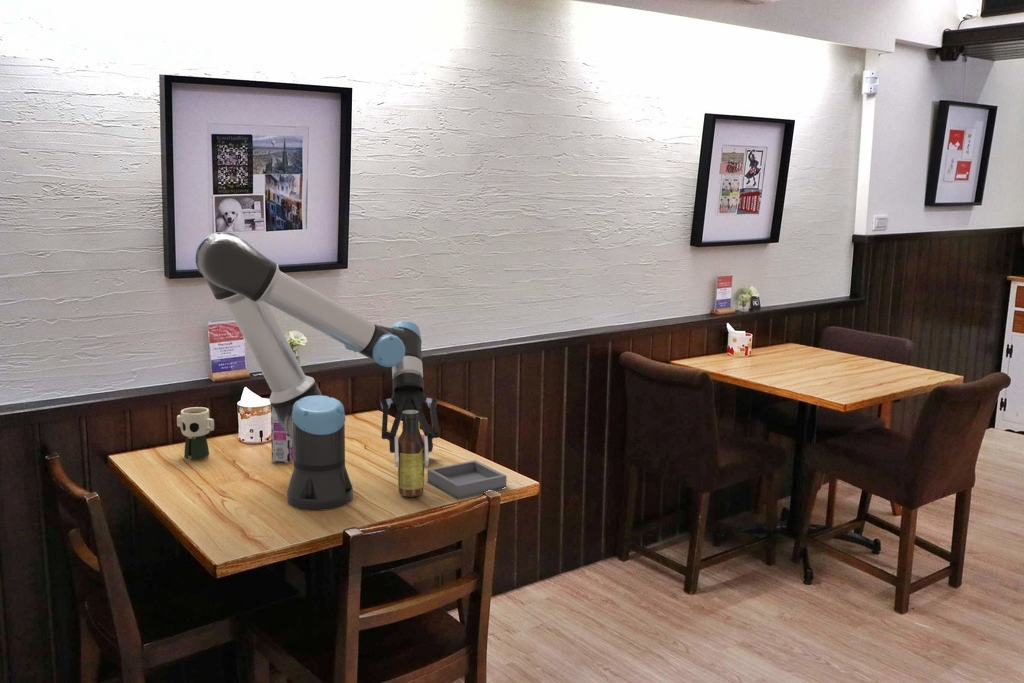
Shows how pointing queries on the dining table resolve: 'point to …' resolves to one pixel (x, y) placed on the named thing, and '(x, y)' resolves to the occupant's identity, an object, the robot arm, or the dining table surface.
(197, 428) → the character mug
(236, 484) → the dining table surface
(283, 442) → the candy bar box
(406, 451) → the sauce bottle
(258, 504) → the dining table surface
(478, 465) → the tray
